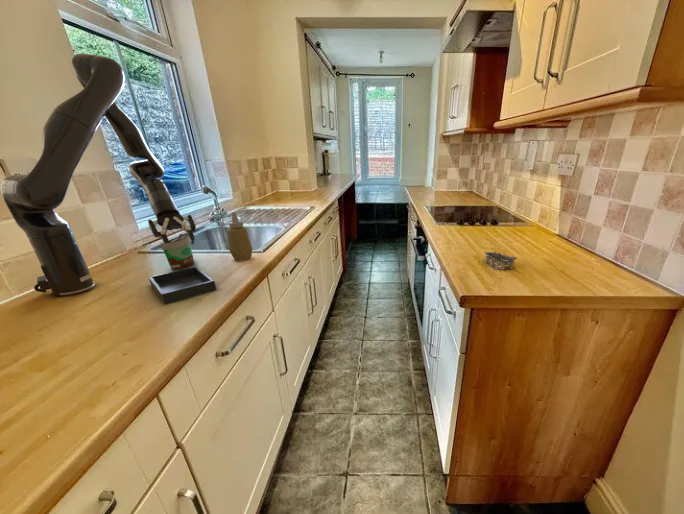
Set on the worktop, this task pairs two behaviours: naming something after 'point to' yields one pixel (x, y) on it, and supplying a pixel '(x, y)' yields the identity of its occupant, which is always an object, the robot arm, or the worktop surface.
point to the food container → (179, 252)
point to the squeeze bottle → (239, 240)
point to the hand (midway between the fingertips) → (181, 242)
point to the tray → (182, 284)
